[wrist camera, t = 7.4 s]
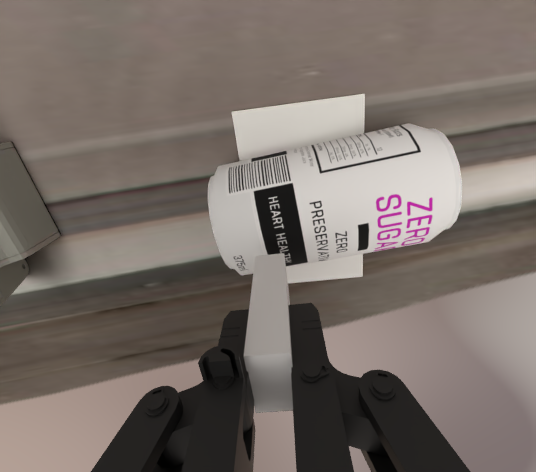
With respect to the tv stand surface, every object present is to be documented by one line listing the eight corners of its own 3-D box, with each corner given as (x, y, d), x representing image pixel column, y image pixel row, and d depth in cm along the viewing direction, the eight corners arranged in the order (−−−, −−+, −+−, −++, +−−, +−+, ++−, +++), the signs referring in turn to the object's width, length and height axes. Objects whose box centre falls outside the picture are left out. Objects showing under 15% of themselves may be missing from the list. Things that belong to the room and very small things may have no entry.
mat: (260, 282, 30) (259, 285, 29) (232, 111, 23) (231, 111, 23) (361, 273, 29) (362, 276, 28) (362, 93, 22) (364, 93, 22)
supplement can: (232, 192, 27) (400, 157, 25) (244, 282, 25) (429, 249, 23) (198, 145, 19) (438, 88, 18) (211, 269, 17) (486, 219, 15)
